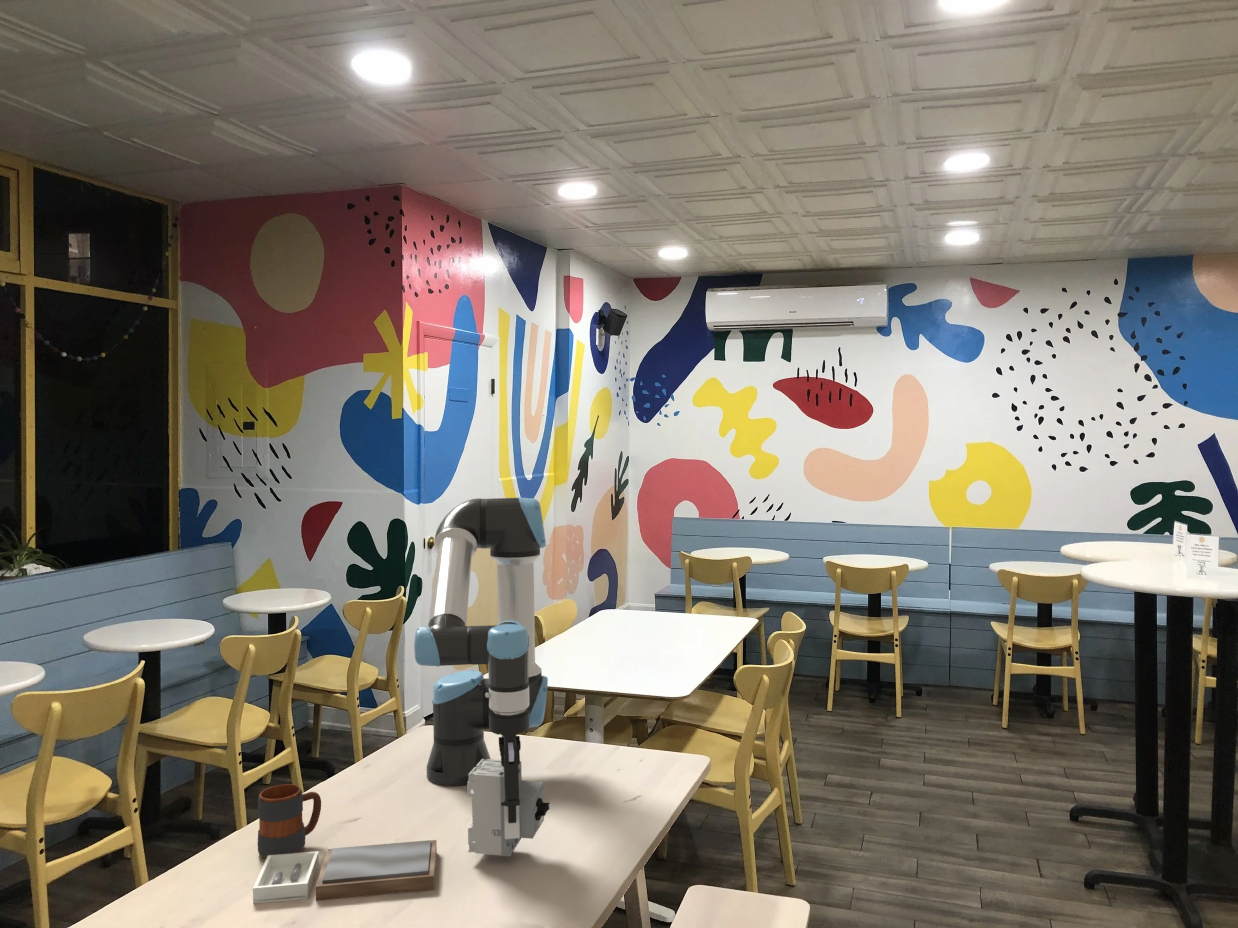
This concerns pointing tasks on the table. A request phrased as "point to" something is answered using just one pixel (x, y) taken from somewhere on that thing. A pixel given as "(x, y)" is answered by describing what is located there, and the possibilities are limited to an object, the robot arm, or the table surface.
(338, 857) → the framed panel
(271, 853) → the mug
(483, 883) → the table surface
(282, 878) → the tray
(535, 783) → the circuit breaker
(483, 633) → the robot arm
